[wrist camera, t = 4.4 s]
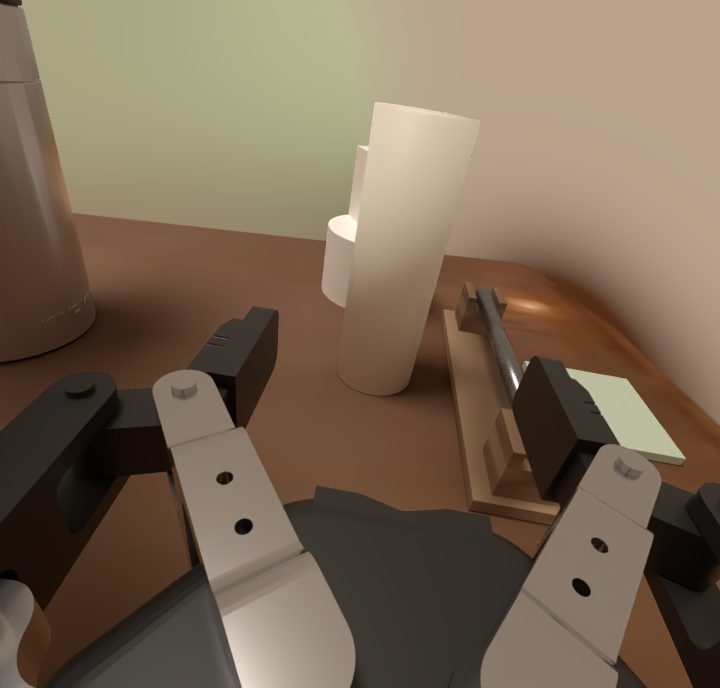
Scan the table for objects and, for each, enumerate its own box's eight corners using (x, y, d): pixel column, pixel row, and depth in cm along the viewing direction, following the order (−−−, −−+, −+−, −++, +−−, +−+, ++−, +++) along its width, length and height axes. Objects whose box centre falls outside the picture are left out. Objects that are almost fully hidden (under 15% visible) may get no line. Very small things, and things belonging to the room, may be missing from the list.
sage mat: (552, 442, 25) (556, 435, 25) (521, 366, 32) (524, 360, 31) (680, 465, 25) (686, 458, 25) (622, 385, 32) (626, 379, 31)
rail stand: (468, 510, 20) (493, 456, 18) (441, 316, 37) (452, 277, 35) (568, 528, 20) (605, 477, 18) (495, 326, 37) (510, 287, 35)
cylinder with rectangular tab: (430, 313, 37) (468, 175, 31) (336, 317, 34) (357, 164, 28) (392, 271, 44) (417, 151, 38) (311, 271, 41) (323, 141, 34)
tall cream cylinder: (331, 387, 26) (370, 104, 18) (342, 344, 31) (378, 100, 22) (410, 402, 26) (488, 125, 18) (409, 356, 31) (473, 117, 22)
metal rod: (523, 463, 19) (532, 446, 19) (472, 296, 35) (476, 283, 34) (548, 468, 19) (558, 450, 19) (486, 298, 35) (491, 286, 34)
